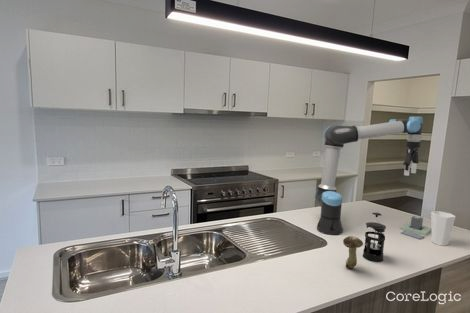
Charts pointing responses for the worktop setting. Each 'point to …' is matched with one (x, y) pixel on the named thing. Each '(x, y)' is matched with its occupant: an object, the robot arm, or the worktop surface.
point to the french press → (372, 246)
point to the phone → (412, 235)
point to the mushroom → (352, 250)
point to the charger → (416, 222)
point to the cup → (441, 227)
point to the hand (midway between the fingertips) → (410, 174)
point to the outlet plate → (424, 230)
